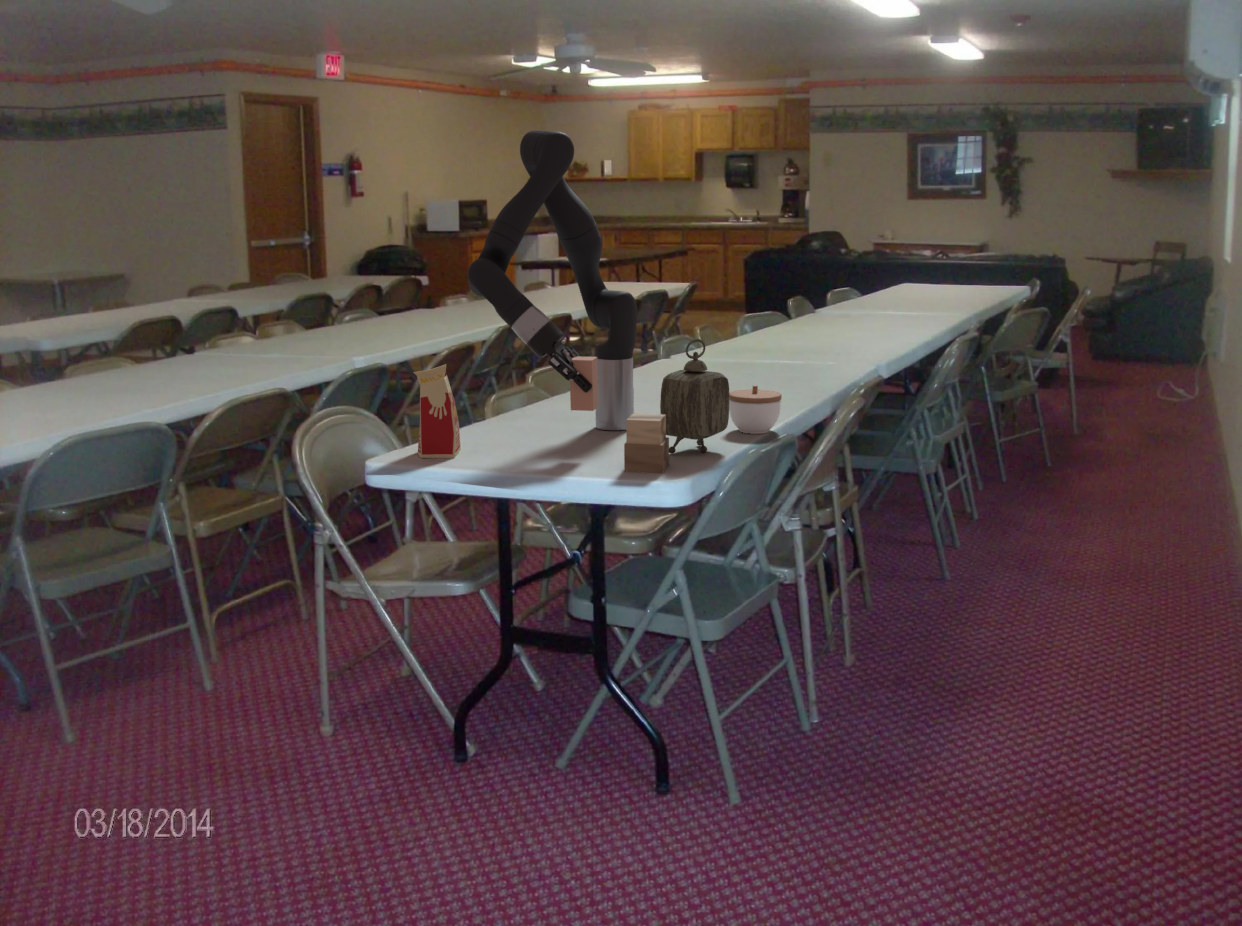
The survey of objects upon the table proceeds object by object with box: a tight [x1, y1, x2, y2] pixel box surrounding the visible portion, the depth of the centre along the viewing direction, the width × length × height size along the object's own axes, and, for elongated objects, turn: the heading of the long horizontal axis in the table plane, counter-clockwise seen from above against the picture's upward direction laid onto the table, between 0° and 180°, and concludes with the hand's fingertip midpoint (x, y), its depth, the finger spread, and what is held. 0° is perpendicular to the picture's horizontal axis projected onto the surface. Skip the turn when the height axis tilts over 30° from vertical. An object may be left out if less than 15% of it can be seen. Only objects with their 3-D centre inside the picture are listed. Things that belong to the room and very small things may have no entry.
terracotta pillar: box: [569, 356, 598, 412], centre depth 262 cm, size 5×5×11 cm
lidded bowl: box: [729, 384, 782, 435], centre depth 288 cm, size 13×13×11 cm
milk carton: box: [413, 363, 462, 459], centre depth 265 cm, size 9×9×20 cm
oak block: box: [625, 413, 667, 445], centre depth 250 cm, size 7×7×5 cm
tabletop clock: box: [659, 338, 730, 455], centre depth 264 cm, size 14×9×25 cm, turn 141°
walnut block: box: [623, 436, 670, 474], centre depth 251 cm, size 8×8×6 cm
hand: (592, 387), depth 261 cm, fingers closed on terracotta pillar, 5 cm apart
